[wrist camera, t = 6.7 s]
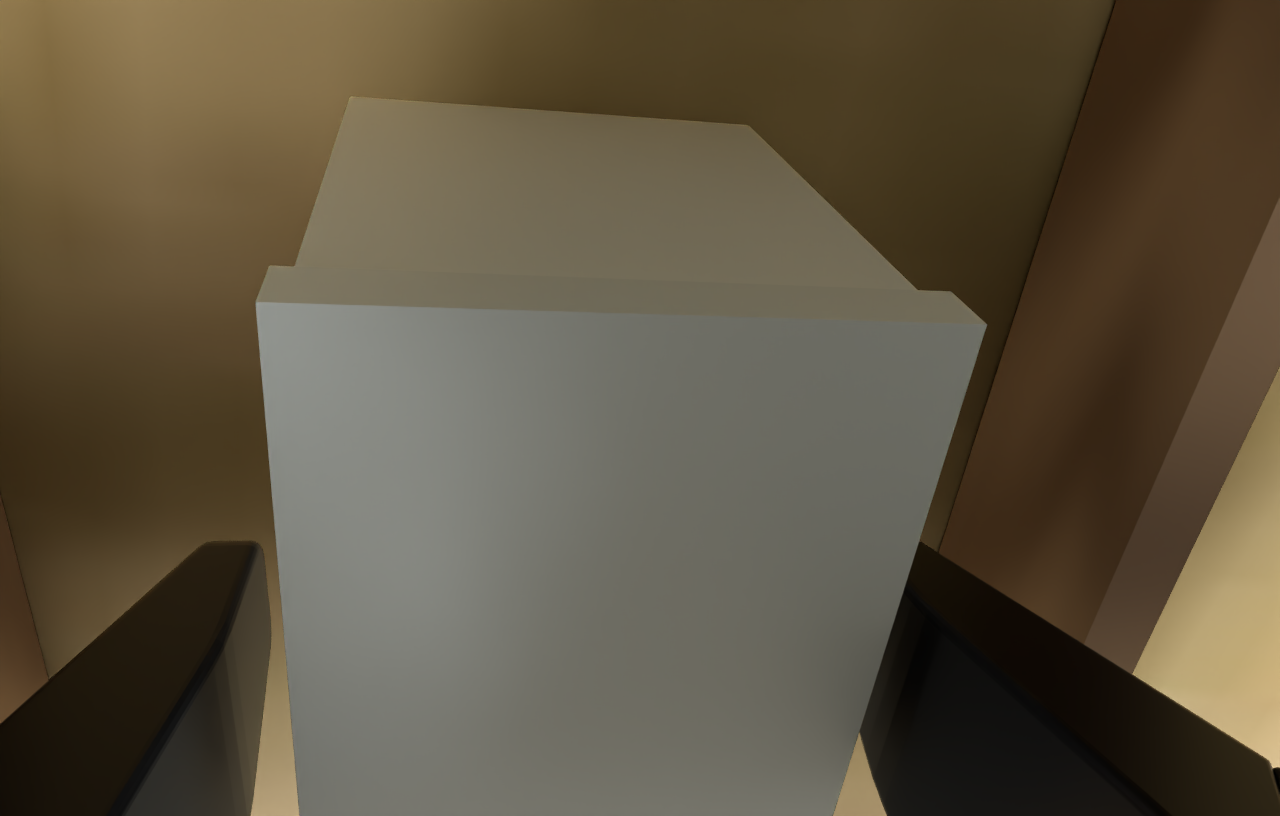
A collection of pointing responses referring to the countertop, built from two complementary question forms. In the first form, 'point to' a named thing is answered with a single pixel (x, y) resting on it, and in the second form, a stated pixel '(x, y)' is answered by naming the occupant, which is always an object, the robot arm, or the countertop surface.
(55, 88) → the countertop surface
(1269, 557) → the countertop surface
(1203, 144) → the brown shallow wooden tray
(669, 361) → the light grey block
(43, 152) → the countertop surface
